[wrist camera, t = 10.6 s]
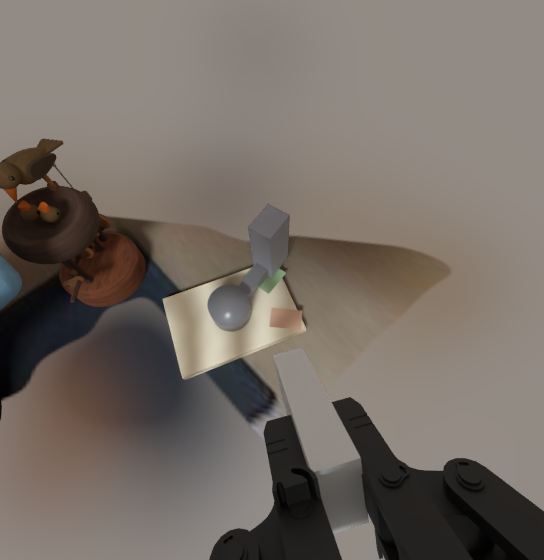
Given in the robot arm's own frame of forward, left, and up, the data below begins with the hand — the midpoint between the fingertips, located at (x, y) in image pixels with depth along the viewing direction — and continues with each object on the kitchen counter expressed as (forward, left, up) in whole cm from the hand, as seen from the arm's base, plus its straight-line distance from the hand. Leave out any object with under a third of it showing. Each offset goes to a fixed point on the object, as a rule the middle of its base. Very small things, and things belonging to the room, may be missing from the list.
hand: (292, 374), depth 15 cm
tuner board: (-13, +3, -22) cm, 26 cm away
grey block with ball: (-14, +7, -21) cm, 26 cm away
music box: (-30, -6, -23) cm, 38 cm away
